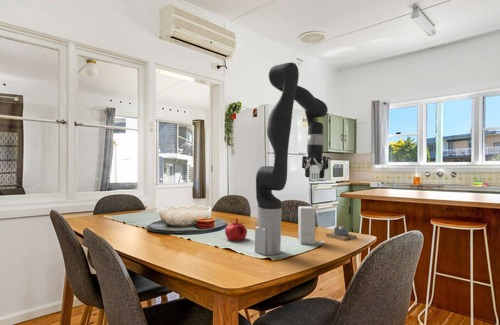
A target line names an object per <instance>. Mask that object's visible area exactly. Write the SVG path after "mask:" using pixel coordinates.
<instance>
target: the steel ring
mask: <svg viewBox="0 0 500 325" xmlns="http://www.w3.org/2000/svg"><path fill="white" fill-rule="evenodd" d="M333 230H334V231H333V232H334V234H335V235H338V236H348V234H350V233H349V228H348V227H344V229H339V226H336V227H334V228H333Z"/></svg>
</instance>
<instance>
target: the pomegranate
mask: <svg viewBox="0 0 500 325" xmlns="http://www.w3.org/2000/svg"><path fill="white" fill-rule="evenodd" d="M234 220H235V221H234V222H233V221H230V222H229V223H227V224H228V225H226V226H225V230H224V233H225V236H226V238H227V239H228V240H230V241H236V242H240V241H243V240H244V239H245V238H246V237H247V233H248V229H247V228H246V226H245V223H244V222H240V221H239V218H236V217H235V219H234Z"/></svg>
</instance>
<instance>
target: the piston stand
mask: <svg viewBox="0 0 500 325" xmlns="http://www.w3.org/2000/svg"><path fill="white" fill-rule="evenodd" d="M338 227H339V229H344V228H345V226H344V225H343V226H342V225H339V226H338ZM325 236H326V237H327V238H331V239H335V240H339V241H344V242H345V241H348V240H353V239H356V238H357V235H356V234H351V233H349V234H348V236H338V235H335V234H334V231H333V232H330V233H326V235H325Z"/></svg>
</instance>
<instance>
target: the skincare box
mask: <svg viewBox="0 0 500 325" xmlns="http://www.w3.org/2000/svg"><path fill="white" fill-rule="evenodd" d="M297 215H298V216H297V217H298V218H297V220H298V221H297V222H298V223H297V228H298V229H297V230H298V231H297V240H298V241H299V243H300V245H315V244H316V208H315V207H313V206H308V205H307V206H306V205H305V206H304V205H303V206H302V205H301V206H298V208H297Z"/></svg>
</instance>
